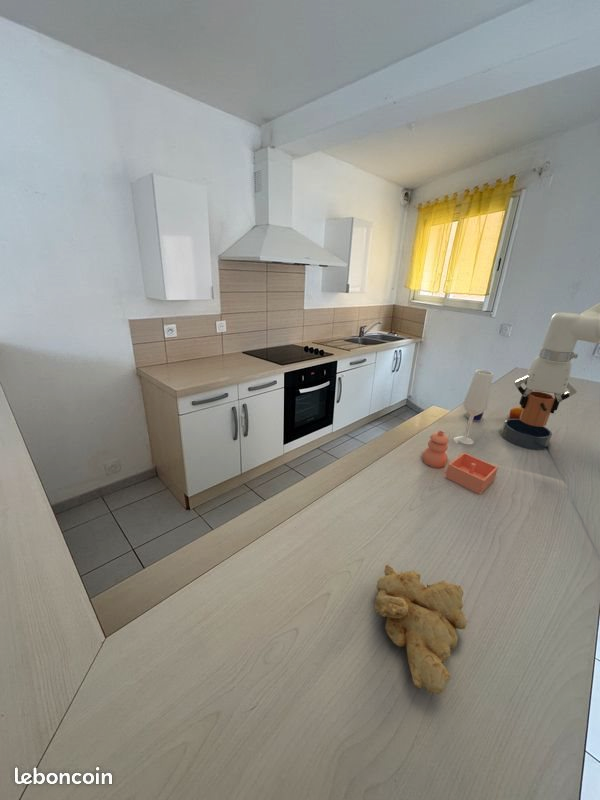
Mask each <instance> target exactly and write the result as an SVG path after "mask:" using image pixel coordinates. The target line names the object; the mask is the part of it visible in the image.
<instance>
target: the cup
mask: <svg viewBox="0 0 600 800" xmlns="http://www.w3.org/2000/svg"><path fill="white" fill-rule="evenodd" d="M527 397H528V400H527V403H526V406H525V408H524V409H522V412H521V415H520V421H522V422H524V423H526V424H529V425H532V426H539V427H543V426H544V427H546V426H547V424H548V420H549V418H550V415H551V413H550V412H551V410H552V407H553V404H554V401H555V399H556V398H555V396H554V395H552V394H551V393H548V392H541V391H534V390H533V391H532V392H531V393H529V394H528V396H527Z"/></svg>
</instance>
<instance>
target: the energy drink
mask: <svg viewBox="0 0 600 800" xmlns="http://www.w3.org/2000/svg"><path fill="white" fill-rule="evenodd" d="M484 413H485V411H484V412H483V413H481V414H479V415H476V416H474V418H473V422H474V423H481V422H482V420H483V416H484ZM469 417H470V414H468V412H467V411H466V414H465V419H466V420H468V421H469ZM473 422H472V423H473Z"/></svg>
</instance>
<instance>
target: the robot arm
mask: <svg viewBox="0 0 600 800" xmlns="http://www.w3.org/2000/svg"><path fill="white" fill-rule="evenodd" d="M578 341H583V342H588V343H593V344H600V302H598V303H597V304H594V305H593V306H591V307H589V308H588V309H586V310H584V311H583V312H581V313H573V312H556V313H554V314H553V315H552V317H551V319H550V321H549V324H548V328H547V331H546V334H545V337H544V339H543V342H542V346H541V348H540V352H539V355H538V356H535V358H534V359H532V362H531V365H530V367H529V368H528V371H527V374H526V375H525V376H523V377H521V378H519V379H517V380H515V381H514V382H513V384H514V386H515V387H516V388H517V390H518V392H519V393H520V394H521V396H520V399H519V405H520V406H521V407H522V408H523V409H524V408H525V406H526V403H527V400H528V397H527V396H528V394H529V393H531V392H532V391H537V392H543V393H547V394H553V396H554V397H555V398H556V399H555V401H554V404H553V407H552V410H551V412H550V414H554V413H555V412H556V411H557V410H558V408H559V405H560V403H561V402H563V401H564V400H566V399H569V398H570V397H571V396H573V395H575V394H576V393H578V391H577V389H576V388H575V387H573V386H572V384H571V383H569V381H570V377H571V370H572V364H573V363H572V360H573V359H578V356H579V353H575V352H574V350H575V348H576V345H577V342H578ZM522 384H524V385H525V387H524V388H523V387H522ZM566 390H567V391H566Z"/></svg>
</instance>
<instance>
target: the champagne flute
mask: <svg viewBox="0 0 600 800" xmlns="http://www.w3.org/2000/svg"><path fill="white" fill-rule="evenodd" d="M493 378H494V373H493V372H492V371H490V370H487V369H486V370H485V369H476V370H475V371H474V374H473V377H472V379H471V383H470V385H469V387H468V390H467V392H466V395H465V397H464V400H463V402H462V404H463V408H464V409H465V412H466V413H467V412H468V414H470V417H469V420H468V421H467V425H466V428H465V432H464V435H459V436H455V437H453V441H454V443H456V444H457V445H459V443H461V444H465V445H473V444H474V440H473V439H471V438H470V437H469V434H470V431H471V428H472V424H473V418H474V416H476V415H479V414H481V413H483V412H484V413H485V412H486V410H487V409H488V405H489V400H490V394H491V389H492V384H493ZM484 413H483V414H484Z"/></svg>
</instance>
